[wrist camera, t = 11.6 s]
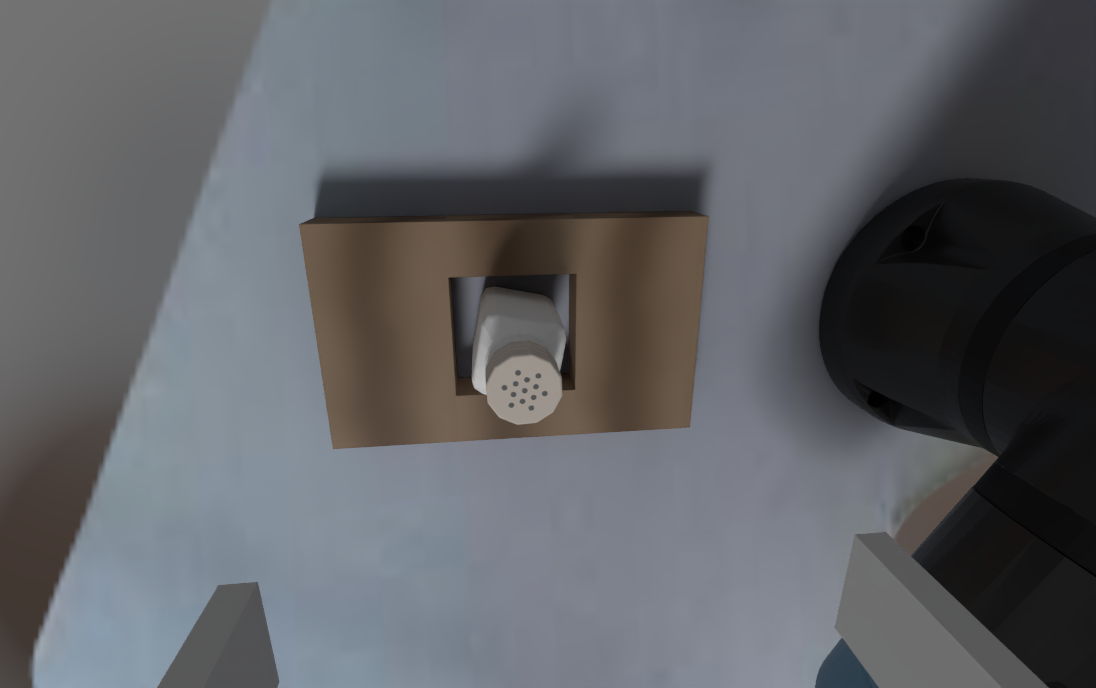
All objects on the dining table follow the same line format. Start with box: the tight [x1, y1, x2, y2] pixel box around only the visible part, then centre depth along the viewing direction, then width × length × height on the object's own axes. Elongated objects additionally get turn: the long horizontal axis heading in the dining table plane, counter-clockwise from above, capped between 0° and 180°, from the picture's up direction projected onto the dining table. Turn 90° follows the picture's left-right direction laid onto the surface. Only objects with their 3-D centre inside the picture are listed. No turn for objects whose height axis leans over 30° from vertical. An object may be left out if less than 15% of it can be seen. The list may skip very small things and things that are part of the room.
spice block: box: [299, 211, 709, 449], centre depth 31 cm, size 20×12×2 cm, turn 90°
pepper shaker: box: [472, 286, 566, 425], centre depth 27 cm, size 4×4×10 cm
